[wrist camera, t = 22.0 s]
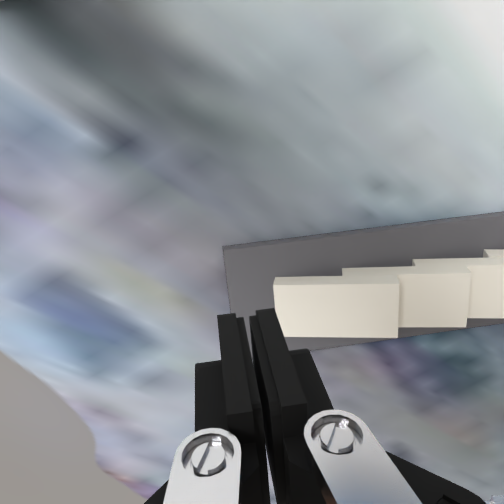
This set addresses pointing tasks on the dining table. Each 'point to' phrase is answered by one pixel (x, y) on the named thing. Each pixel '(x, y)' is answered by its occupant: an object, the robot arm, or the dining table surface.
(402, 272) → the domino
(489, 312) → the domino
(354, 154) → the dining table surface
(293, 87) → the dining table surface
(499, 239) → the mat
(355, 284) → the domino
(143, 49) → the dining table surface
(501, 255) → the domino
